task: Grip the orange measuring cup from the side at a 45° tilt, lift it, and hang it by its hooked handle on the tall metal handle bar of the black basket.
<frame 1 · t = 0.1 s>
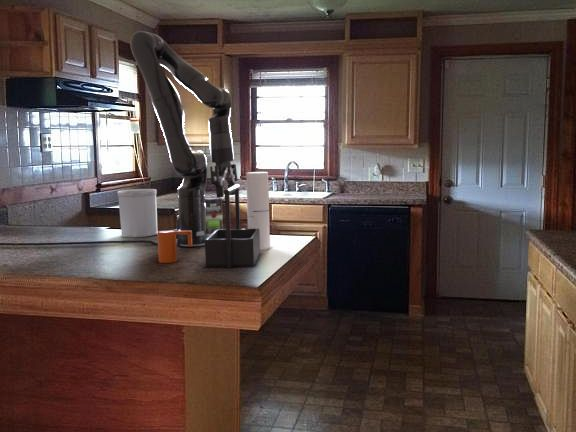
hand: (226, 196, 214), 17 cm above the table, tool pointing down, fingers open, 8 cm apart
coffee can: (209, 234, 247), on the table
basket: (234, 260, 190), on the table
measuring cup: (167, 261, 191), on the table
utensil holder: (139, 235, 250), on the table
cylindrical container: (259, 248, 211), on the table
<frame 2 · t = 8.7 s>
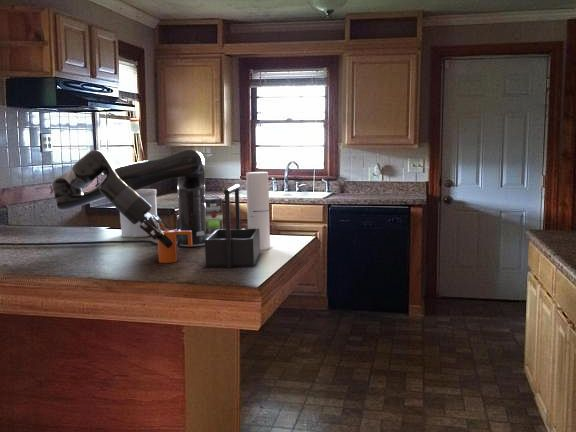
hand: (173, 244, 190), 5 cm above the table, tool tilted 45°, fingers closed on measuring cup, 5 cm apart
measuring cup: (167, 261, 191), on the table, touching gripper
everything else where it was.
when the fingers open (19 cm above the table, at t = 17.3 s): measuring cup drops 1 cm and tips over, resting on basket.
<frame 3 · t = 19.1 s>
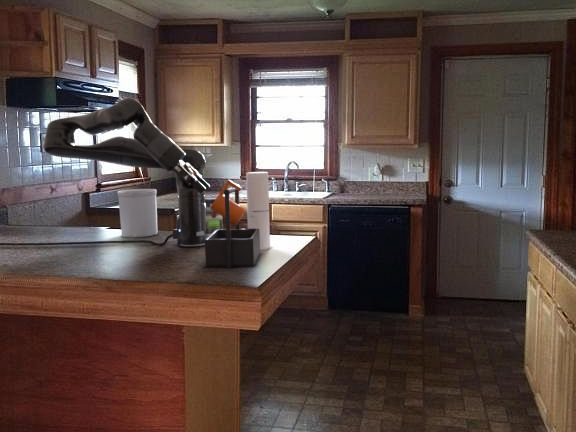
hand: (205, 190, 188), 21 cm above the table, tool tilted 45°, fingers open, 8 cm apart
measuring cup: (240, 217, 188), point 13 cm above the table, tilted 55°, touching basket
everything else where it was.
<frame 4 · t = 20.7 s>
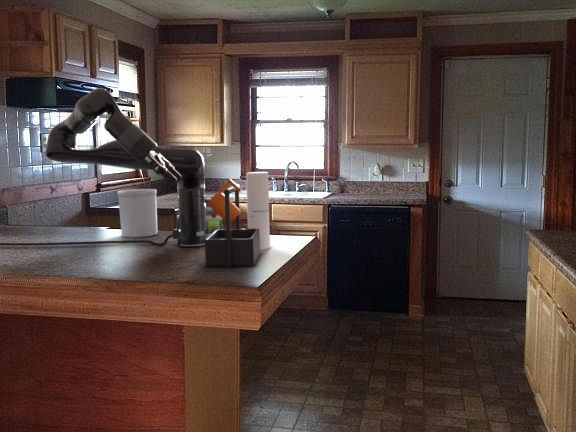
hand: (177, 181, 188), 24 cm above the table, tool tilted 45°, fingers open, 8 cm apart
measuring cup: (235, 218, 189), point 13 cm above the table, tilted 45°, touching basket
everything else where it was.
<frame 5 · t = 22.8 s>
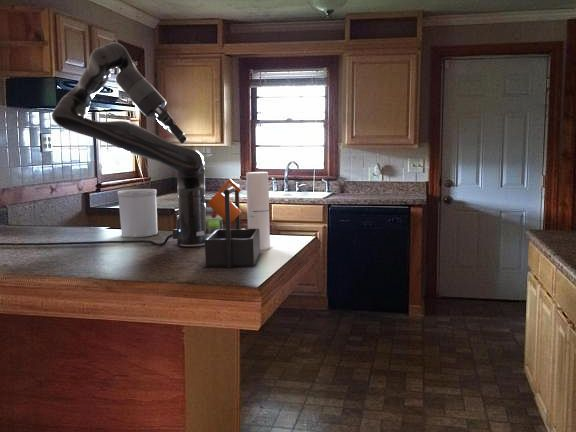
hand: (183, 139, 189), 36 cm above the table, tool tilted 40°, fingers open, 8 cm apart
nothing on the table moved.
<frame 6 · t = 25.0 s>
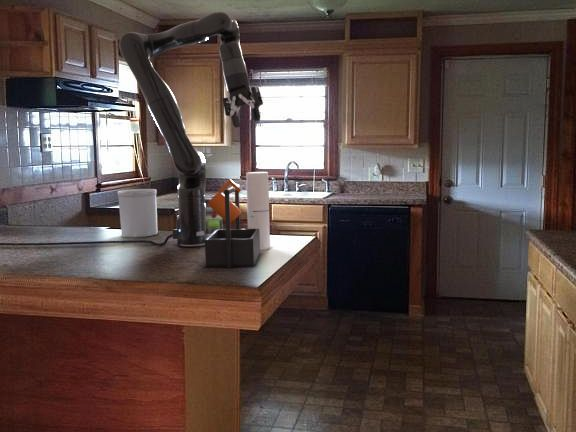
hand: (247, 123, 206), 41 cm above the table, tool pointing down, fingers open, 8 cm apart
nothing on the table moved.
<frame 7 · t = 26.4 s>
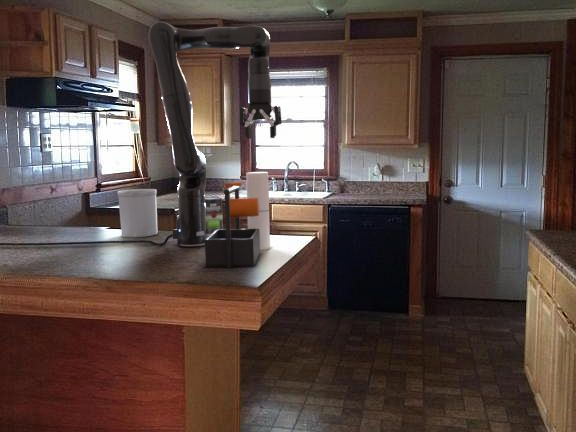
hand: (260, 138, 213), 36 cm above the table, tool pointing down, fingers open, 8 cm apart
measuring cup: (258, 206, 188), point 16 cm above the table, tilted 92°, touching basket
everything else where it was.
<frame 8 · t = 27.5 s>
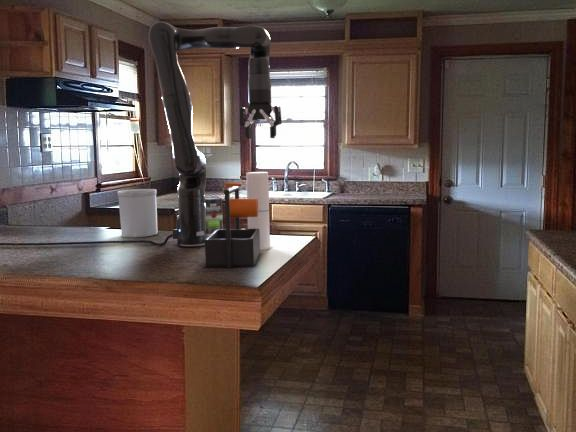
hand: (260, 138, 213), 36 cm above the table, tool pointing down, fingers open, 8 cm apart
nothing on the table moved.
at the end: measuring cup inside the target area on the basket (1.5 cm from its centre), point 12.6 cm above the basket's base; measuring cup touching basket; the gripper is holding nothing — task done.
